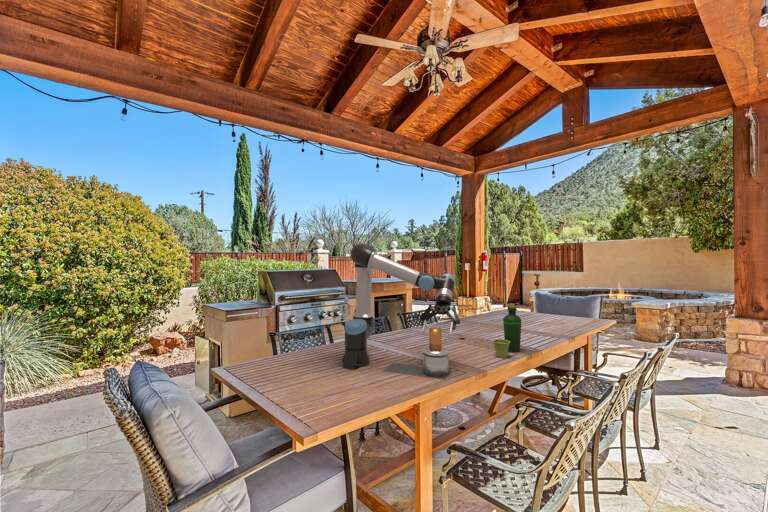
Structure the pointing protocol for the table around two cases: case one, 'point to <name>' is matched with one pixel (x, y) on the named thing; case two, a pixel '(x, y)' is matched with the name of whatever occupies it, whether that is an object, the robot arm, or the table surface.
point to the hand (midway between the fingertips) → (436, 333)
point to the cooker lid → (435, 344)
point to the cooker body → (435, 365)
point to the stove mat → (410, 370)
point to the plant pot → (501, 347)
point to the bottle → (512, 329)
